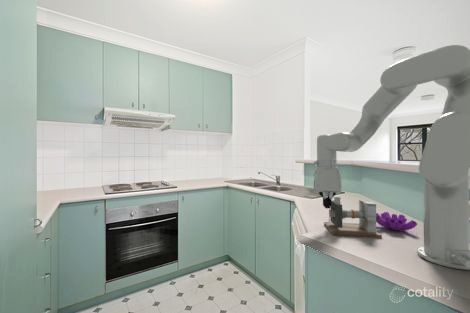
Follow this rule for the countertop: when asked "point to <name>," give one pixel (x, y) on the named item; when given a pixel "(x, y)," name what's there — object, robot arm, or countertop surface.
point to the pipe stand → (353, 229)
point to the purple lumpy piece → (394, 221)
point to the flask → (337, 200)
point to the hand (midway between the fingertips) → (327, 207)
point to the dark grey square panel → (336, 214)
